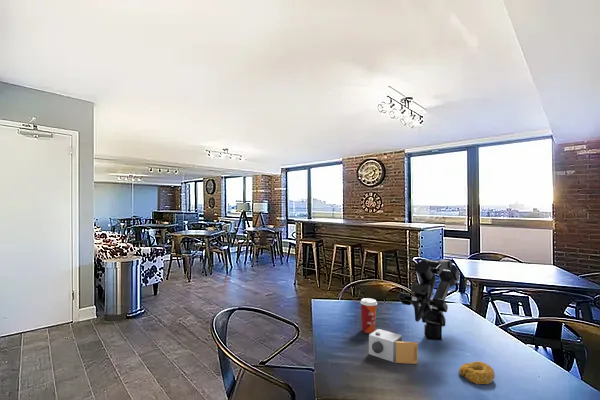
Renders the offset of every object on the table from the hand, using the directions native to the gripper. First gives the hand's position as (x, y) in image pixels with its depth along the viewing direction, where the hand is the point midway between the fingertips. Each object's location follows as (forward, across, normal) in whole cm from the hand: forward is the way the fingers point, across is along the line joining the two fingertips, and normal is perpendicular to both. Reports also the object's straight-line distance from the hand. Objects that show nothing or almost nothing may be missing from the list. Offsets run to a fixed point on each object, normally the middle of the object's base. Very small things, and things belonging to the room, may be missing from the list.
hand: (416, 321), depth 132 cm
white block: (+16, -9, +1) cm, 18 cm away
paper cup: (+5, -26, +12) cm, 29 cm away
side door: (+17, 0, 0) cm, 17 cm away
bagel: (+13, +22, +7) cm, 26 cm away
